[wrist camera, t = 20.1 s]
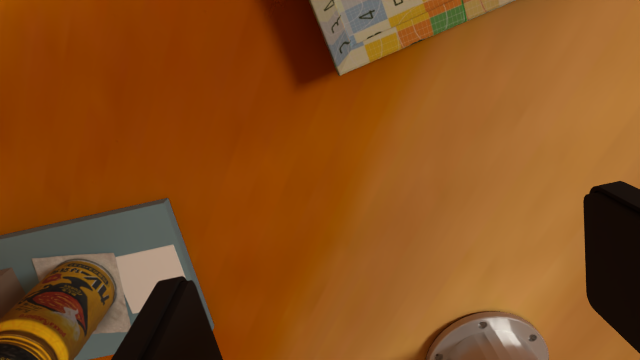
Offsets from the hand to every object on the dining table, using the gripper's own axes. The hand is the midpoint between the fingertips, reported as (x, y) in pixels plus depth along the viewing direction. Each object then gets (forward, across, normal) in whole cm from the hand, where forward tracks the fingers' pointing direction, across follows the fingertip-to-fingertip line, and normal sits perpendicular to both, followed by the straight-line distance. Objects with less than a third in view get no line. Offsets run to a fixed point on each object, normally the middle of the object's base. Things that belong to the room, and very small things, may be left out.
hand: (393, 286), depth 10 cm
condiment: (+27, +26, +12) cm, 39 cm away
